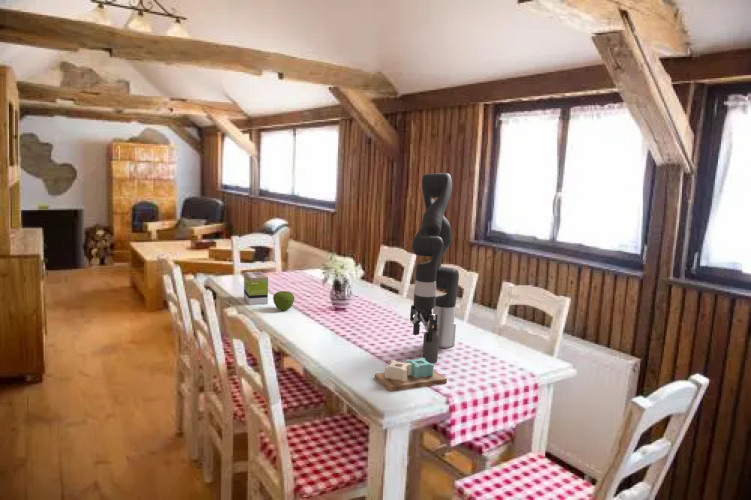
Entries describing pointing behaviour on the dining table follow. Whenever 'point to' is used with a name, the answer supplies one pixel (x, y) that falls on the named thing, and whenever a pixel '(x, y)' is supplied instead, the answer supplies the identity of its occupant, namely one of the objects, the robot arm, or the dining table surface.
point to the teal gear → (421, 367)
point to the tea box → (255, 288)
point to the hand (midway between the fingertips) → (422, 338)
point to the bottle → (431, 347)
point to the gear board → (410, 381)
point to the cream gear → (398, 370)
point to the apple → (283, 300)
